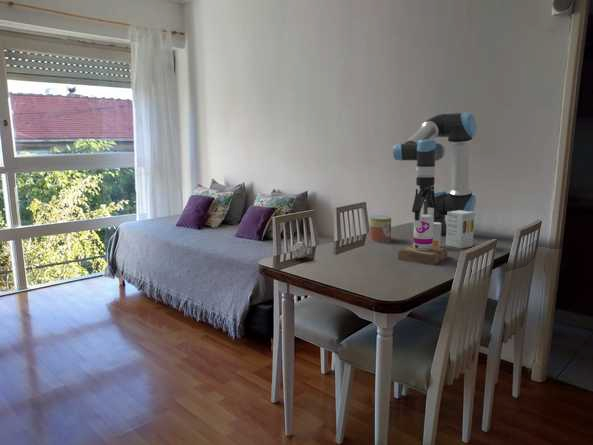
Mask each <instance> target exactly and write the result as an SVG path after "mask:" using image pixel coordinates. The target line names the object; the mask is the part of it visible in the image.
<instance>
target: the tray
mask: <svg viewBox="0 0 593 445" xmlns="http://www.w3.org/2000/svg"><path fill="white" fill-rule="evenodd" d="M446 258H448V248H445V247H441V246H440V247H433V248H432V249H431V250H430V251H419V250H415V248H414V247H413V244H411V245H409V246H407V247H404V248H402V249H400V250H398V251H397V260H400V261H407V262H411V263H412V262H413V263H420V264H424V265H430V266H431V265H432V266H433V265H435V264H437V263H439V262H441V261H443V260H445V259H446Z"/></svg>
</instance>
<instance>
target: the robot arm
mask: <svg viewBox="0 0 593 445" xmlns="http://www.w3.org/2000/svg"><path fill="white" fill-rule="evenodd" d="M419 127H420V128H419V129H417V131H416V132H415V133H414V134H413V135H411V136H410V137H409V138H408V139H407V140H406V141H405V142H403V143H396V144H395V145H394V146H393V148H392V156H393V159H394V160H396V161H416V169H415V171H416V186H418V187H419V188H416V189H415V195H414V199H413V204H412V209H411V212H412V213H414V215H413V217H414V219H413V228H414V227H415V228H421V214H427V215H432V217H433V219H434V222H438V223H442V225H441V236H444V235H445V236H446V230H447V220H446V216H447V212H450V211H458V210H462V211H469V212H474V210H475V208H476V207H475V206H476V201H477V198H476V195H474V194H473V191H472V189H471V188H470V143H471V142H472V141H473V137H476V135H477V120H476V118H475V116H474V114H473V113H471V112H459V113H458V112H456V113H454V112H453V113H441V114H436V115H434V116H432V117H431V118H428V119H427V120H425V121H424V122H423V123H422V124H421V125H420V126H419ZM436 138H447V142H448V143H450V152H451V155H450V157H451V158H450V159H451V160H450V161H451V165H450V167H451V168H450V169H451V172H450V173H451V188H450V189H449V191H448V193H447V191H446V190H435V181H436V178H435V175H436V161H440V160H441V159H443V158H444V156H445V154H446V148H445V147H444V145H443V144H441V143H439V142H436V140H435V139H436ZM422 208H423V213H422V212H421V211H422Z"/></svg>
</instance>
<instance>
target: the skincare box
mask: <svg viewBox="0 0 593 445" xmlns="http://www.w3.org/2000/svg"><path fill="white" fill-rule="evenodd" d="M441 225H442V223H438V222H434V226H433V247H440V248H441V239H442V235H441Z"/></svg>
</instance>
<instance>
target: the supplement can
mask: <svg viewBox="0 0 593 445" xmlns="http://www.w3.org/2000/svg"><path fill="white" fill-rule="evenodd" d="M433 226H434V219H433V217H432V215H427V214H423V213H421V228H415V227H414V226H413V240H412V242H413V244H412V245H413V247H414V248H415V250H419V251H430V250H431V249H432V248H433Z"/></svg>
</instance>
